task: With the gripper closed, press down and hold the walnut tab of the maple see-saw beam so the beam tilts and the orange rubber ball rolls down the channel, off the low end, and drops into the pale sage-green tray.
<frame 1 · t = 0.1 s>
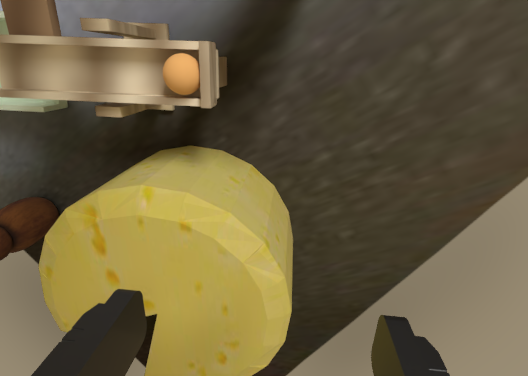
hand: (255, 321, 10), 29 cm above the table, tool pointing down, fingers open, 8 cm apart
ball: (183, 74, 25), point 11 cm above the table, tilted 9°, touching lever
fulcrum: (150, 68, 36), on the table
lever: (93, 29, 25), point 10 cm above the table, hinge at -1.5°, touching ball
cheese: (201, 234, 44), on the table
tray: (4, 62, 37), on the table
wooden figurine: (46, 210, 45), on the table
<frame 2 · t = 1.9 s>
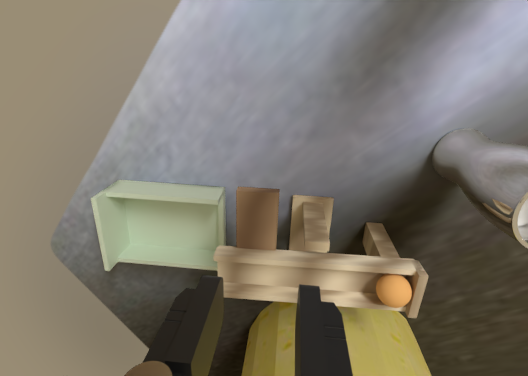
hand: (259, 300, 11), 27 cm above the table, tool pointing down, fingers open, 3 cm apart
ball: (393, 290, 30), point 11 cm above the table, tilted 9°, touching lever
fulcrum: (309, 228, 41), on the table
beer glass: (459, 154, 35), on the table
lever: (317, 252, 30), point 10 cm above the table, hinge at -1.5°, touching ball
cheese: (328, 351, 49), on the table
tray: (174, 217, 42), on the table
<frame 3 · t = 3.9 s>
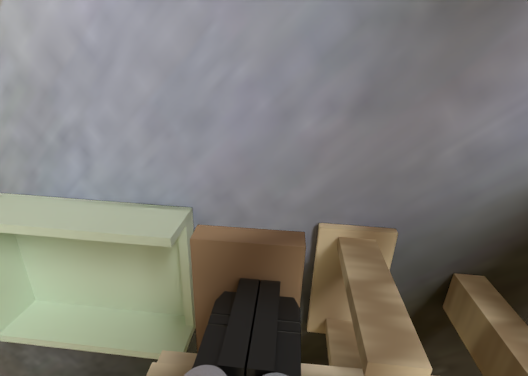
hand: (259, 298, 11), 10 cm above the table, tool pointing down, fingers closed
fulcrum: (347, 281, 22), on the table
tray: (105, 259, 24), on the table
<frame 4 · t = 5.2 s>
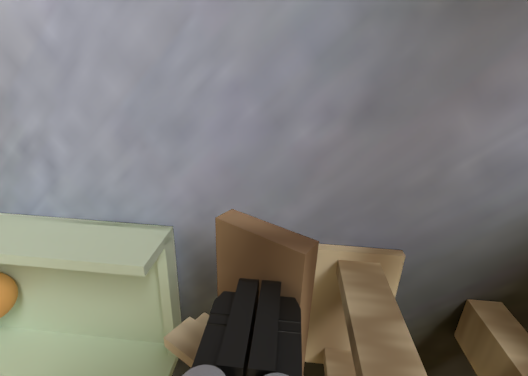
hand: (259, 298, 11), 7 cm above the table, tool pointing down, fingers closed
fulcrum: (347, 307, 20), on the table
tray: (78, 282, 21), on the table
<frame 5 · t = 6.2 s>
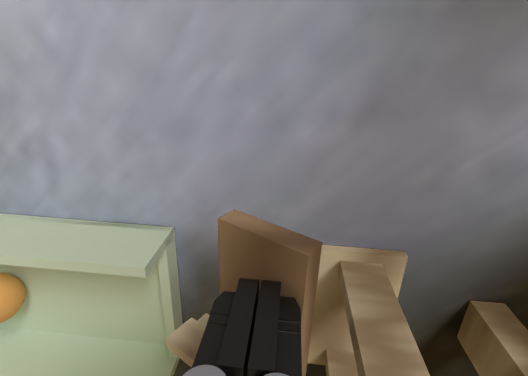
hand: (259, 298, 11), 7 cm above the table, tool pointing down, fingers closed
fulcrum: (349, 308, 20), on the table
tray: (79, 282, 21), on the table
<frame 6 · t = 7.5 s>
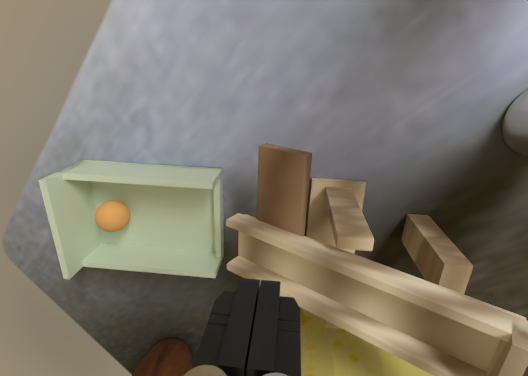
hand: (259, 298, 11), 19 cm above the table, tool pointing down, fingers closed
ball: (112, 215, 31), point 2 cm above the table, tilted 64°, touching tray
fulcrum: (332, 222, 31), on the table
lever: (345, 250, 21), point 10 cm above the table, hinge at 30.5°
tray: (157, 209, 33), on the table
wooden figurine: (174, 347, 40), on the table
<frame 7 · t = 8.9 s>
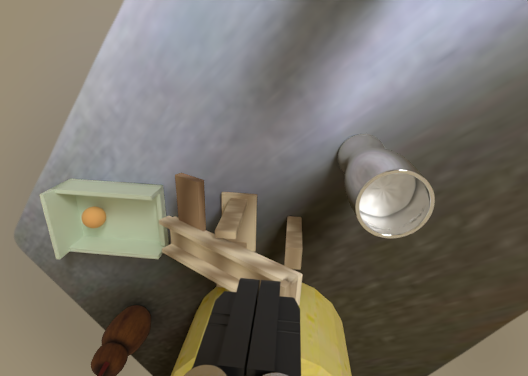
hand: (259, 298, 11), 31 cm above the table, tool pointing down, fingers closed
ball: (94, 217, 46), point 2 cm above the table, tilted 40°, touching tray
fulcrum: (239, 221, 46), on the table
beer glass: (360, 156, 41), on the table
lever: (219, 238, 35), point 10 cm above the table, hinge at 30.5°
cheese: (267, 333, 54), on the table
tray: (121, 212, 47), on the table
wooden figurine: (139, 312, 55), on the table
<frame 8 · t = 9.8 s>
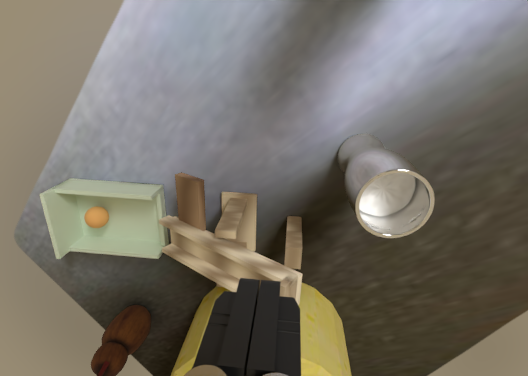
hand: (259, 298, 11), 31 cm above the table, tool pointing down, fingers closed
ball: (96, 217, 45), point 2 cm above the table, tilted 25°, touching tray
fulcrum: (239, 221, 46), on the table
beer glass: (360, 155, 41), on the table
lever: (219, 238, 35), point 10 cm above the table, hinge at 30.5°
cheese: (267, 333, 54), on the table
tray: (121, 212, 47), on the table
wooden figurine: (139, 312, 55), on the table
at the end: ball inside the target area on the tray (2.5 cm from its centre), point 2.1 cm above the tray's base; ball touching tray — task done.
